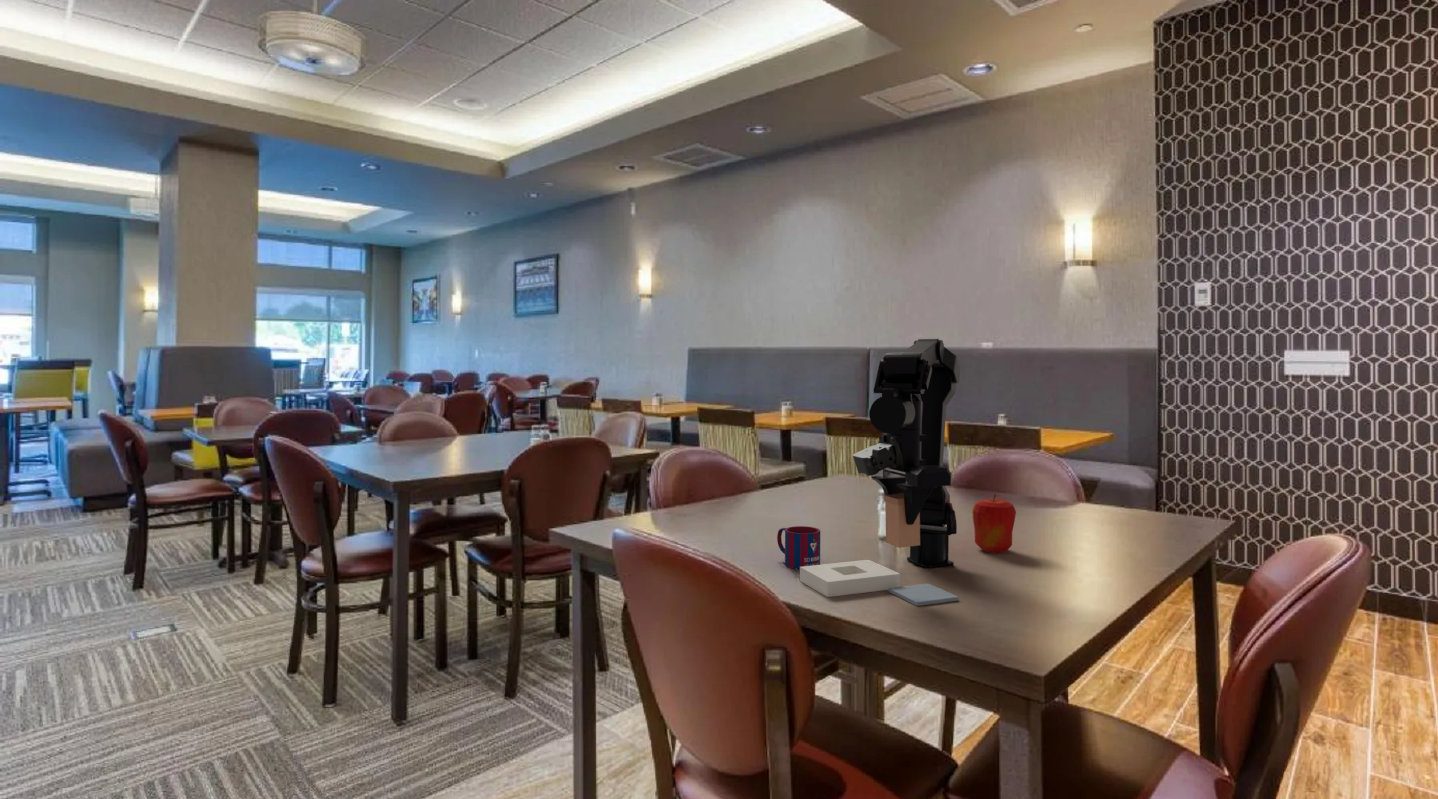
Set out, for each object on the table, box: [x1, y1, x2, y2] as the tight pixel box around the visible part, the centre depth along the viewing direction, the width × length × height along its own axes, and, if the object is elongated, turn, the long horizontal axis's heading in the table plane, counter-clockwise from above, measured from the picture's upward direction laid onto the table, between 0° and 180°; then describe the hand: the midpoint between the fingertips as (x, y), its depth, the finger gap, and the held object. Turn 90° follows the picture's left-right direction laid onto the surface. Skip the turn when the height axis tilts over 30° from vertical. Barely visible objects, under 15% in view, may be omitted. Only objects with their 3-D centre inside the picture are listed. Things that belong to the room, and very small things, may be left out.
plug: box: [883, 493, 920, 549], centre depth 123 cm, size 4×4×8 cm
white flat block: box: [799, 559, 901, 598], centre depth 128 cm, size 14×10×2 cm
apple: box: [971, 494, 1017, 554], centre depth 152 cm, size 9×8×12 cm
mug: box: [776, 525, 821, 570], centre depth 143 cm, size 7×10×7 cm
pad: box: [887, 583, 960, 607], centre depth 122 cm, size 8×8×1 cm
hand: (902, 521), depth 123 cm, fingers closed on plug, 4 cm apart
